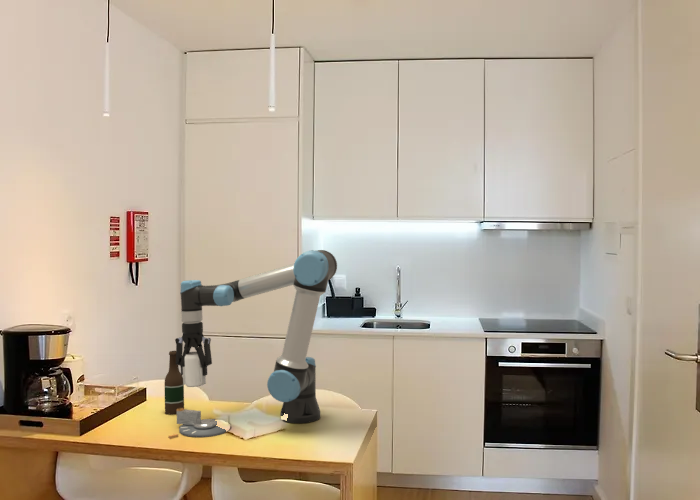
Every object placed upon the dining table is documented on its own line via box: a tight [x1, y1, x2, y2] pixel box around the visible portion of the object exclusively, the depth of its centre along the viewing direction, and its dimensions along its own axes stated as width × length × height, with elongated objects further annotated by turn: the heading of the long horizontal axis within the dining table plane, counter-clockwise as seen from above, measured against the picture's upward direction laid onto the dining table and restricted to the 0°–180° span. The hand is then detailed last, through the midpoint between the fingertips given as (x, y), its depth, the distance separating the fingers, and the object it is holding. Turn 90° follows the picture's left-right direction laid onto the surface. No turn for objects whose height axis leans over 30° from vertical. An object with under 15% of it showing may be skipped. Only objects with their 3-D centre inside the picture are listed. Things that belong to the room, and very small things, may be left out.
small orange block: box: [168, 433, 179, 440], centre depth 214 cm, size 3×1×1 cm, turn 134°
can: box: [185, 351, 202, 388], centre depth 231 cm, size 6×6×12 cm
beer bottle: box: [164, 350, 185, 416], centre depth 244 cm, size 8×8×24 cm
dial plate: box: [178, 418, 227, 438], centre depth 223 cm, size 18×18×1 cm
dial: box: [176, 407, 217, 429], centre depth 224 cm, size 15×8×5 cm, turn 71°
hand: (194, 383), depth 231 cm, fingers closed on can, 6 cm apart
